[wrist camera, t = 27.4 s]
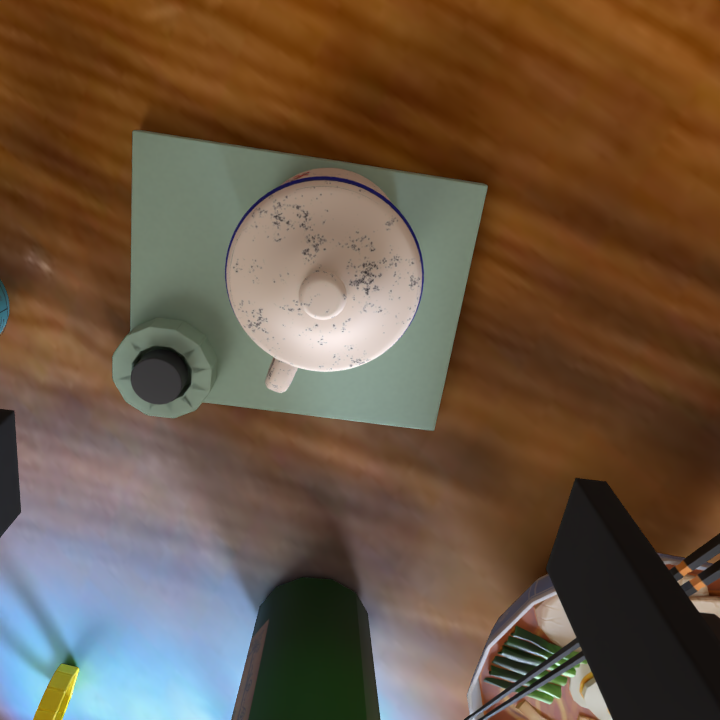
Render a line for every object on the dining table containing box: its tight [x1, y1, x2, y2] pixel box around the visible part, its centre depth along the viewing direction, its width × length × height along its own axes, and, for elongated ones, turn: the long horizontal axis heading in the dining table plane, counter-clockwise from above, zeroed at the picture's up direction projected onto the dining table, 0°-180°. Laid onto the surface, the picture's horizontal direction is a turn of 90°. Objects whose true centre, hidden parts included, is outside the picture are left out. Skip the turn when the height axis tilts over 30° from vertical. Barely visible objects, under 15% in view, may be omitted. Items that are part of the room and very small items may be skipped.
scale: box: [112, 130, 488, 431], centre depth 37 cm, size 20×16×3 cm
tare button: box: [131, 349, 188, 405], centre depth 36 cm, size 3×3×2 cm
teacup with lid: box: [225, 168, 424, 393], centre depth 31 cm, size 12×9×12 cm
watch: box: [33, 664, 79, 720], centre depth 47 cm, size 6×3×6 cm, turn 159°
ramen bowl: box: [464, 533, 720, 720], centre depth 44 cm, size 25×23×8 cm
